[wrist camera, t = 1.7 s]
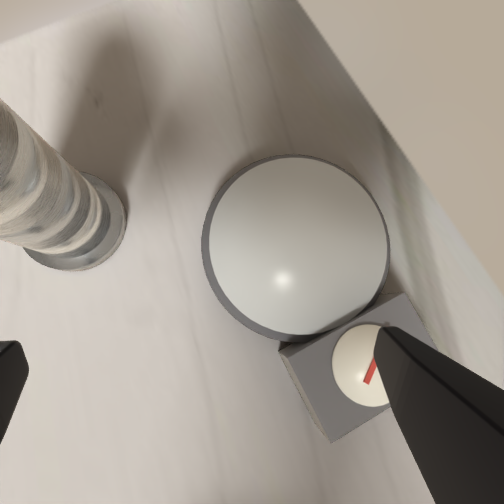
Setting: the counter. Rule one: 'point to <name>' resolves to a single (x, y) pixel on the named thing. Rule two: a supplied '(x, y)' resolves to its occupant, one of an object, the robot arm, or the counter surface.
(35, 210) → the disc
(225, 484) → the counter surface
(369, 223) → the kitchen scale
